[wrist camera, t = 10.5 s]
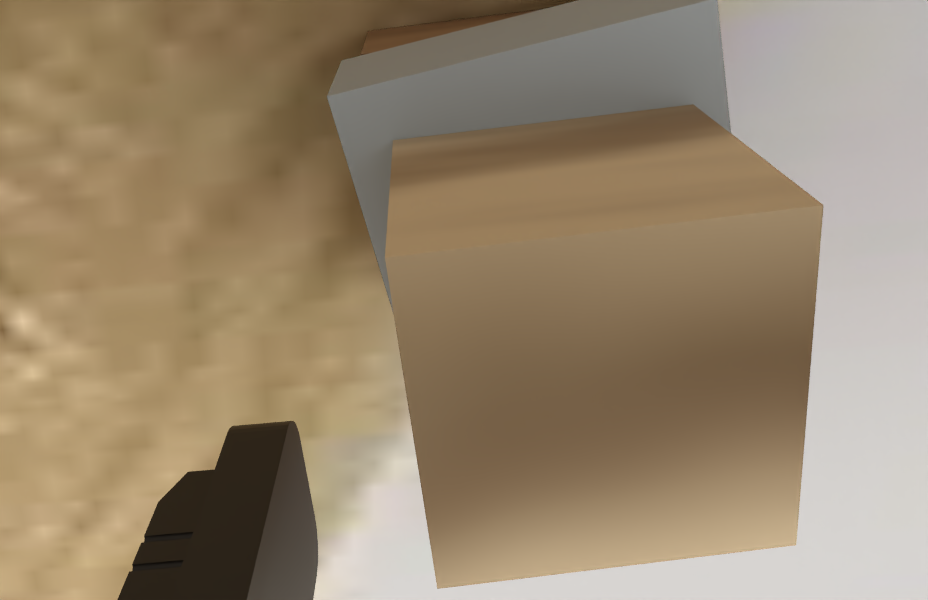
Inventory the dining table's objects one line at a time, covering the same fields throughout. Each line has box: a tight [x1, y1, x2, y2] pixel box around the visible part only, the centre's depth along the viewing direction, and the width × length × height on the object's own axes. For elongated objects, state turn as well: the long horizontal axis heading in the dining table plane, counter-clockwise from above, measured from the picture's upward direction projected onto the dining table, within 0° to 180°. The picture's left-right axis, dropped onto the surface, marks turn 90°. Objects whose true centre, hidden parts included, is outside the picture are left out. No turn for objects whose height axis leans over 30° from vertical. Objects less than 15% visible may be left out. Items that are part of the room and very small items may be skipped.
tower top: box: [327, 0, 731, 314], centre depth 18 cm, size 7×7×4 cm
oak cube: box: [385, 104, 823, 589], centre depth 14 cm, size 6×6×6 cm
